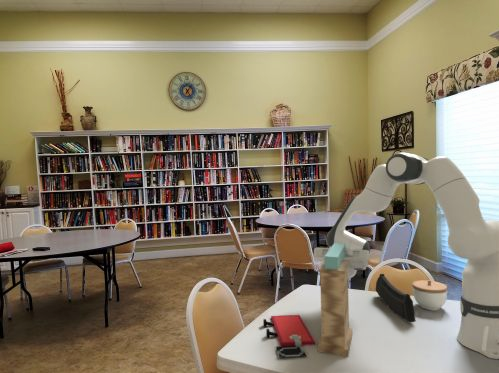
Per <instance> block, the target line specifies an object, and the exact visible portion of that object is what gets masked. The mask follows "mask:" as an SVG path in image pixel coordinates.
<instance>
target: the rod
mask: <svg viewBox="0 0 499 373" xmlns="http://www.w3.org/2000/svg"><path fill="white" fill-rule="evenodd" d="M345 247H346V243H334V244H333V245H332V247H331V248H330V250H329V251H328V252H327V254H326V255H325V269H330V270H338V269H339V267H340V265H341V263H342V261H343V259H344V257H345V255H346V253H345Z"/></svg>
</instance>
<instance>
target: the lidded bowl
mask: <svg viewBox="0 0 499 373" xmlns="http://www.w3.org/2000/svg"><path fill="white" fill-rule="evenodd" d="M411 287H412V295H413V298H414V300H415V301H416V302H417V304H418V305H419V306H420V308H422V309H424V310H427V311H429V310H430V311H439V310H440V309H441V308H442V307H443V306H444V305H445V304H446V303H447V302H446V301H447V297H448V286H447V285H446V284H444V283H441V282H439V281H435V280H431V279H427V280H426V279H425V280H415V281H413V282H412V286H411Z"/></svg>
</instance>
